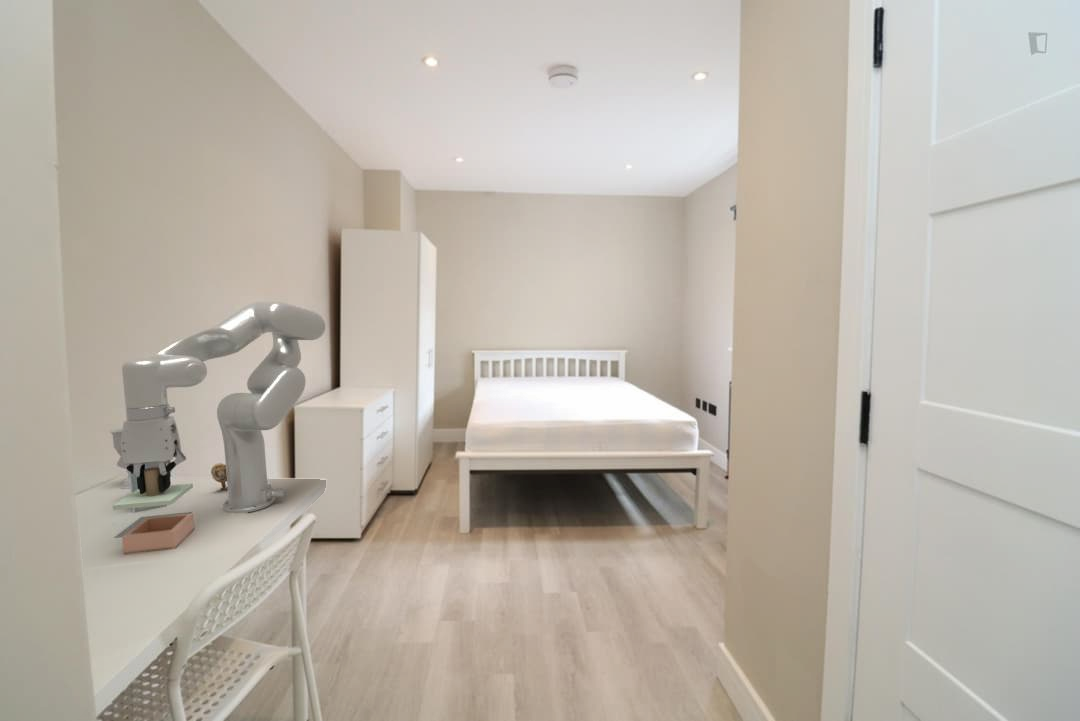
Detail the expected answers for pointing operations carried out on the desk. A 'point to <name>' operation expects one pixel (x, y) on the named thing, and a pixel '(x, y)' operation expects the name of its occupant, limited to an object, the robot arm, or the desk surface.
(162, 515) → the mat
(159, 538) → the dish
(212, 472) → the lion figurine
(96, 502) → the desk surface
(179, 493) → the lid
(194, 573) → the desk surface
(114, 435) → the chalice
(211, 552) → the desk surface
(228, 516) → the desk surface
